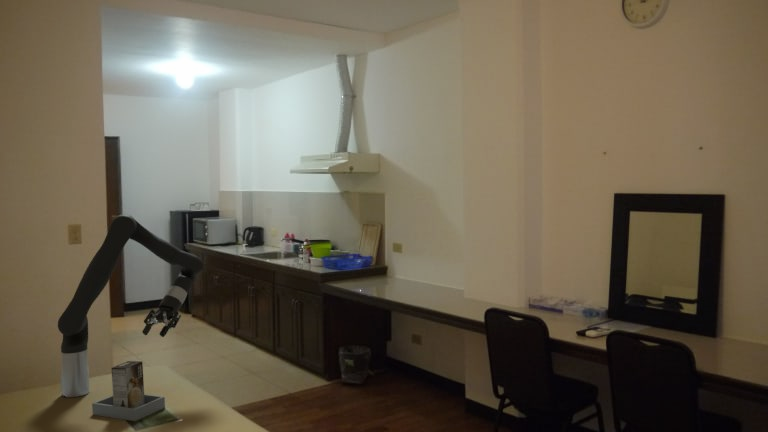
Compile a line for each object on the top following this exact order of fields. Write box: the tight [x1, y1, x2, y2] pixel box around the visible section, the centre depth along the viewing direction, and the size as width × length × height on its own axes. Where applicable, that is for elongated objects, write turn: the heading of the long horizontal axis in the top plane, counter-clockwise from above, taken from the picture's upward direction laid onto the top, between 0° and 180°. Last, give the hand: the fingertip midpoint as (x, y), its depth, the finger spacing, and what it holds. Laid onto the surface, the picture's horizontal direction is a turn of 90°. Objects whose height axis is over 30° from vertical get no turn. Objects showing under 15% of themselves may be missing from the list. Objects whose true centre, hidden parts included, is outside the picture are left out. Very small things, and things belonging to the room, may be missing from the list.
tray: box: [91, 393, 166, 422], centre depth 218 cm, size 20×14×4 cm
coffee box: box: [111, 360, 145, 409], centre depth 218 cm, size 9×6×16 cm
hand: (152, 335), depth 231 cm, fingers open, 8 cm apart
